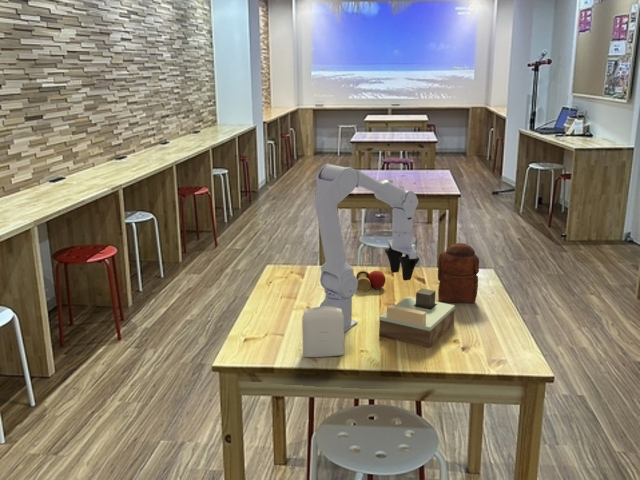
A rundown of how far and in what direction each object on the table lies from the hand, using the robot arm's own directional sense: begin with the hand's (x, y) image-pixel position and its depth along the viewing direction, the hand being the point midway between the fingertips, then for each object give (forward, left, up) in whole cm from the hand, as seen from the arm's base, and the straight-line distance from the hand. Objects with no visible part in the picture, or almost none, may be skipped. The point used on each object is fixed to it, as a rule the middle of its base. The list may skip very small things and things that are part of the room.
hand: (400, 276), depth 180 cm
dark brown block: (-8, -11, -6) cm, 15 cm away
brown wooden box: (-13, -11, -10) cm, 20 cm away
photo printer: (-39, +3, -10) cm, 41 cm away
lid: (-13, -11, -5) cm, 18 cm away
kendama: (+9, +19, -10) cm, 23 cm away
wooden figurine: (+15, -12, -10) cm, 22 cm away
